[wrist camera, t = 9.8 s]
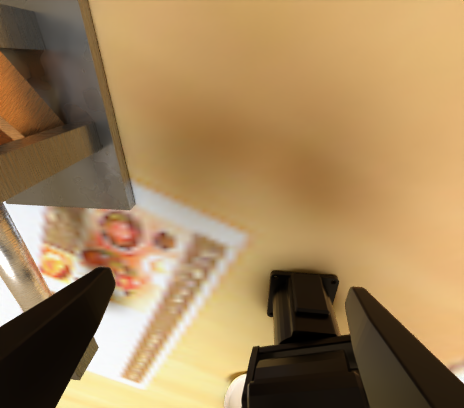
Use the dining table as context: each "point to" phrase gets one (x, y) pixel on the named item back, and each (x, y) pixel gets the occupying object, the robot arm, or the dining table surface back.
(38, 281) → the shaft
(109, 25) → the dining table surface
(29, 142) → the bracket
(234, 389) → the spread jar
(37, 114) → the block
